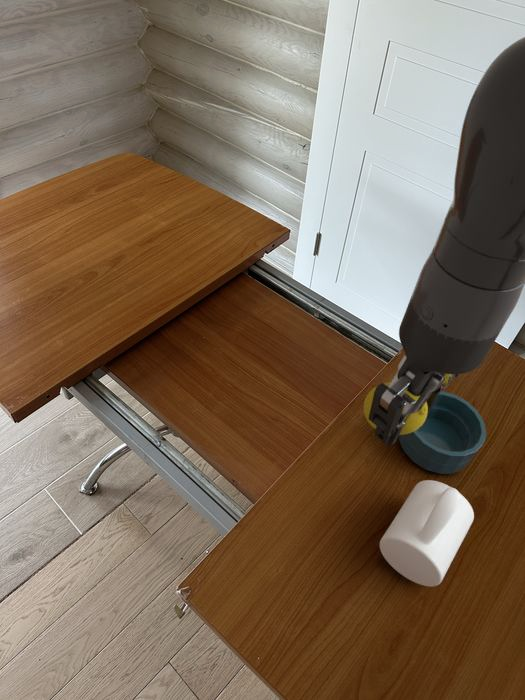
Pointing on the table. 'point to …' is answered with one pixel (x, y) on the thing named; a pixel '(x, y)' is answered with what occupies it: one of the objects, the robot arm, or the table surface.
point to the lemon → (413, 421)
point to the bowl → (446, 436)
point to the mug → (427, 532)
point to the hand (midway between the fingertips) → (402, 422)
